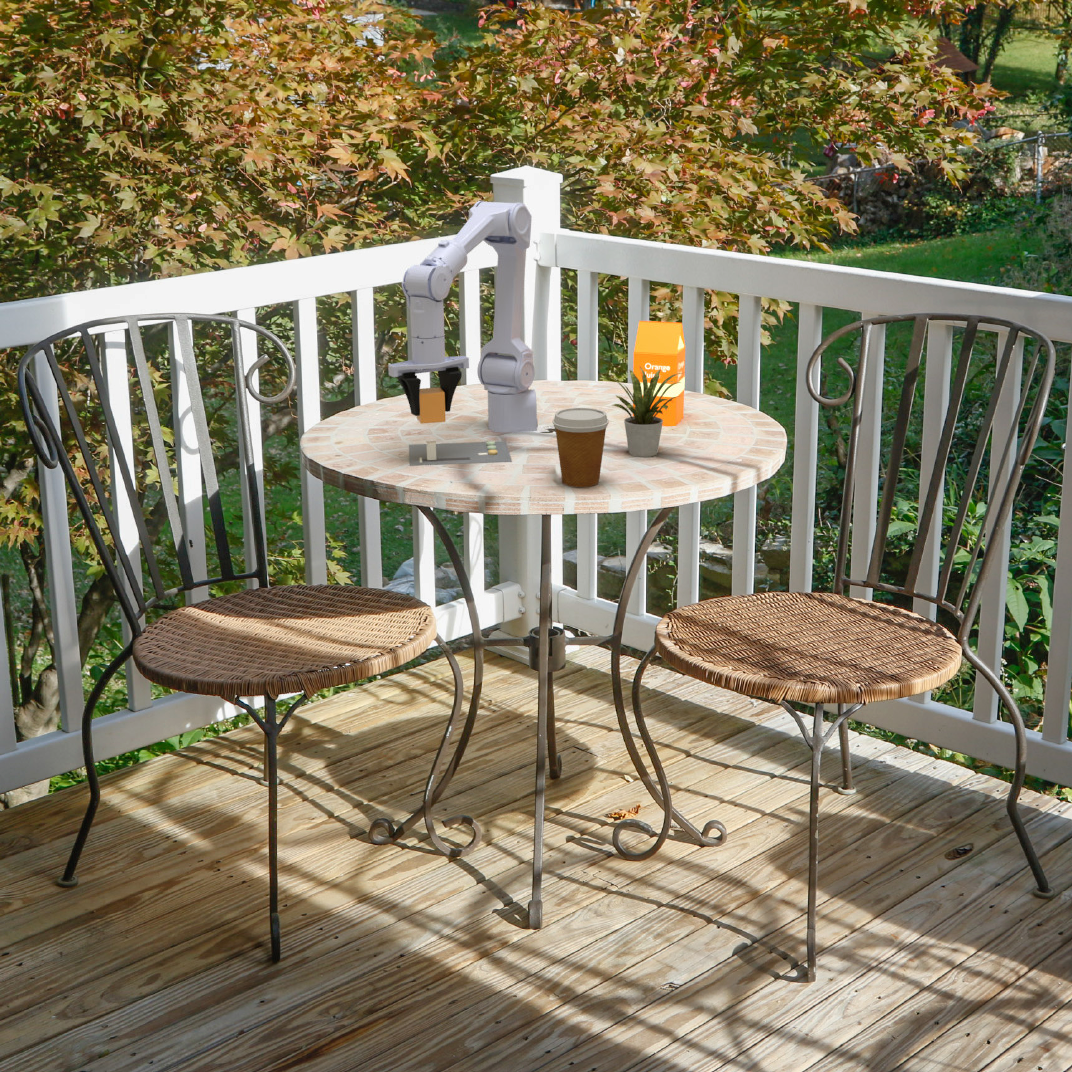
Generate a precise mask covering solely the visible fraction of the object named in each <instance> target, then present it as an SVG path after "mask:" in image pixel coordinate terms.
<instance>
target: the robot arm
mask: <svg viewBox="0 0 1072 1072" xmlns="http://www.w3.org/2000/svg"><path fill="white" fill-rule="evenodd" d="M532 218H533V217H532V214H531V213H530V211H529V209H528V207H527V206H526V205H525V203H523V202H501V201H500V202H497V201H496V202H495V201H485V200H479V201H476V202H475V203H474V205H473V206H472V207H471V208H469V210H468V220H467V221H466V223H464V224H463V226H462V227H461V229H460V230H459V231H458V233H457V234H456V235H455V237H454V238H453V239H445V240H439V242H438V243H437V246H436V247H435V249H433V251H431V253H430V254H428V256H426V257H425V258H424V260H422V262H420V264H413V265H411V266H410V267H409V268H408V269H407V270H405V272H404V273H403V274H404V275H403V278H402V282H401V289H402V292H403V294H404V297H405V298H406V306H407V308H408V309H409V311H410V335H411V353H412V354H411V357H412V359H409V360H406V361H401V362H396V363H395V362H394V363H389V364H388V365H387V368H388V369H387V370H388V376H389V377H392V378H397V380H398V382H399V383H400V386H401V387H402V389H403V391H404V393H405V396H406V399H407V402H408V404H409V409H410V414H412V415H413V416H415V417H417V416H420V403H419V392H420V389H421V384H422V383H421V382H422V379H420V378H418V375H417V374H425V373H431V372H432V373H434V372H437V374H438V379H439V380H438V381H439V387H440V388H441V389H442V390H443V391H444V393H445V413H446V412H451V408H452V402H453V399H454V395H455V391H456V389H457V386H458V385H459V382H460V381H461V379H462V375H463V374H462V370H459V369H464V370H465V369H469V368H470V359H469V358H470V357H468V356H465V355H458V356H456V355H455V356H446V343H445V341H446V339H445V313H444V310H445V309H444V299H445V298H447V297H448V295H449V293H450V291H451V290H450V289H451V285H452V284H453V281H454V278H455V277H456V276H457V275H458V274H459V273H460V272H461V271H462V270H463V269H464V268H465V267H466V266H467V263H468V254H469V253H471V252H472V251H473V250H474V249H475V248H476V247H477V246H479V245H480V244H481V243H482V242H484V243H486V244H487V245H488V246H490V247H492V248H493V249H494V251H495V252H496V253H497V264H496V265H497V268H496V269H497V270H496V282H495V284H496V285H495V287H496V288H495V299H494V300H495V301H494V302H495V303H494V319H493V335H492V336H493V337H492V339H490V340H489V341H488V342H486V344H485V345H482V347H481V354H480V359H479V361H478V364H477V369H476V370H477V377H478V380H479V382H480V384H482V385H483V387H484V388H483V389H484V391H487V413H488V414H487V417H488V419H487V420H488V422H487V423H488V430H489V431H492V432H495V433H503V434H505V433H519V432H537V431H538V423H539V421H538V415H537V413H538V412H537V409H538V407H537V393H536V390H535V389H531V388H530V387H531V385H532V384H533V382H534V378H535V374H536V373H535V372H536V371H535V366H534V360H533V359H534V358H533V357H534V356H533V355H534V351H533V350H532V349H531V348H530V347H529V346H528V345H527V343H525V342H524V341H523V340H522V339H521V338H522V337H521V336H522V325H523V324H522V322H523V321H522V320H523V308H524V307H523V306H524V304H523V303H524V294H525V293H524V290H525V274H526V260H527V259H526V258H527V249H529V248H530V247H531V246H530V245H531V234H532ZM503 354H504V355H503ZM529 388H530V389H529Z"/></svg>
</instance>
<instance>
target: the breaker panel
mask: <svg viewBox="0 0 1072 1072" xmlns="http://www.w3.org/2000/svg"><path fill="white" fill-rule="evenodd" d="M408 455H409V457H408V458H409V466H411V467H413V466H415V467H416V466H438V465H439V466H443V465H466V464H469V465H470V464H490V463H492V464H493V463H496V464H497V463H512V462H513V460H512V456H511V454H510V450H509V447H508V443H507V441H505V440H504V441H503V440H499V441H494V440H487V441H473V442H471V441H470V442H447V443H446V442H445V443H444V442H443V443H436V460H427V443H418V444H417V443H416V444H408Z"/></svg>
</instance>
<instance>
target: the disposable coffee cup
mask: <svg viewBox="0 0 1072 1072" xmlns="http://www.w3.org/2000/svg"><path fill="white" fill-rule="evenodd" d="M609 423H610V420H609V419H608V415H607V413H606V412H605V411H604V410H602V409H600V408H599V409H598V408H591V407H571V408H570V407H569V408H564V409H560V410H557V411H556V412H555V413H554V417H553V419H552V424H553V427H554V428H555V437H556V445H557V452H558V459H559V466H560V475H561V481H562V482H561V483H562V484H564V486H568V487H573V488H587V487H588V488H589V487H593V485H594V486H596V485H598V484H599V483H600V477H601V470H602V469H601V468H602V462H603V453H604V446H605V438H606V430H607V428H608V424H609Z"/></svg>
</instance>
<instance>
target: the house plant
mask: <svg viewBox="0 0 1072 1072" xmlns="http://www.w3.org/2000/svg"><path fill="white" fill-rule="evenodd" d="M639 366H640V365H639ZM638 369H639V368H638ZM640 369H641V371H642V373H641V371H640V373H641V376H642V374H643V376H642V380H643V382H642V383H643V397H642V390H641V385H640V384H642V383H640V381H639V379H638V378H637V377H636V375H635V374H634V372H633V371H632V370H631V369H629V373H630V374H629V375H630V379H631V382H632V392H631V391H630V389H629V388H628V386H626V385H623V384H622V383H621V382H619V381H618V380H617V379H615V378H614V377H611V376H608V375H606V376H607V377H608V378H611V379H612V380H614V381H615V382H616V383H617V384H618V385H620V387H621V388H622V389H623V390H624V392H625V393H626V394H627V396H628V397H629V399H630V401H631V402H629V401H627V400H626V399H625V398H624V397H622V396H620V395H615V397H616V398H618V400H620V402H621V403H622V404H624V405H625V406H626V407H625V406H624V405H622V404H620V403H619V404H618V403H615V404H612V405H611V407H612V406H613V407H617V408H619V409H621V410H623V411H624V412H626V413H627V414H628V416H629V417H625V419H624V420H623V423H624V428H625V435H626V440H627V448H628V454H629V455H630V456H634V457H636V458H637V457H640V458H649V457H653V456H654V455H655V456H656V455H657V454H658V451H659V445H660V439H661V434H662V430H663V426H662V424H663V420H662V419H661V418H658V417H656V415H657V414H658V413H661V414H662V415H663V412H662V411H661V409H662V408H664V409H666V411H667V408H668V406H667V405H666V404H667V403H668V402H670V401H672V399H674V398H676V397H681V396H676V397H673V398H670V399H669V400H668V399H661V398H662V396H663V395H664V394H665V392H666V391H667V390H668V389H669V388H670V387H671V386H673V385H674V384H677V383H682V382H676V383H673V384H671V385H670V386H668V387H667V388H666V389H665V391H664V392H663V393H662V395H661V397H660V398H659V400H658V401H657V402H655V404H654V405H653V406H652V407H651V405H652V403H653V402H654V400H655V398H656V396H657V395H658V393H659V392H660V390H661V389H662V387H663V386H664V385H665V384H666V382H667V381H669V380H670V379H671V378H673V377H674V376H676V375H678V374H683V373H677V374H673V375H671V376H669V377H668V378H666V379H665V380H664V381H663V382H662V384H661V385H660V386H659V388H658V390H657V391H656V393H655V395H654V396H653V394H654V391H655V388H656V385H657V382H658V380H659V376H660V371H661V369H659V370H658V371H657V372H656V373H655V375H654V377H653V378H652V379H651V380H650V385H649V387H648V382H647V376H646V374H645V372H644V370H643V369H642V368H641V367H640ZM640 369H639V370H640ZM669 382H675V381H669ZM667 383H668V382H667ZM633 400H634V401H633ZM665 400H668V401H666V402H665V403H664V404H663V405H662V406H658V407H656V406H657V405H658V404H659V403H661V402H662V401H665ZM672 402H673V401H672ZM673 403H674V402H673ZM633 404H634V405H635V407H634V406H633ZM659 407H661V408H660V409H659V410H657V409H658V408H659ZM650 408H651V409H650ZM655 412H656V414H655ZM631 413H632V414H631ZM633 414H634V416H633ZM654 414H655V415H654Z"/></svg>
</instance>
